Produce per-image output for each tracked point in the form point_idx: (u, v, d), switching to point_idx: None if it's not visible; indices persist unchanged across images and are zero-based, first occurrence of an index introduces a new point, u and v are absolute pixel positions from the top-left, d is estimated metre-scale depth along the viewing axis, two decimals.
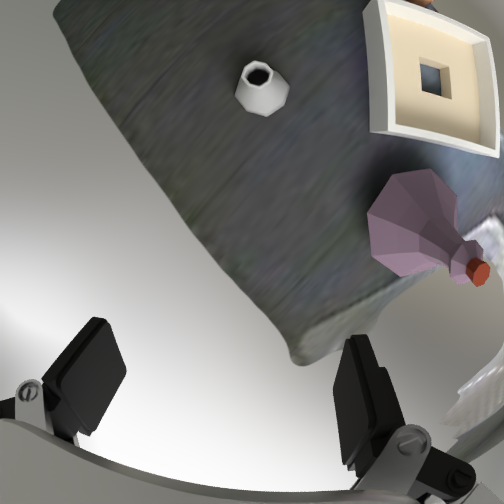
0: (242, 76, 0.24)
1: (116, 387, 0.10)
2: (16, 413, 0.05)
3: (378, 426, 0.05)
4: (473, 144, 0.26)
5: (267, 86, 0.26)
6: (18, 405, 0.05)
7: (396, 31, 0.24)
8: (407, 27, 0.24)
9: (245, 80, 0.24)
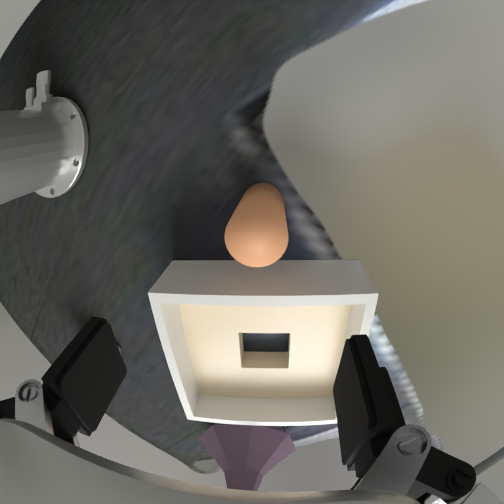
0: None
1: (116, 387, 0.10)
2: (16, 413, 0.05)
3: (378, 426, 0.05)
4: (295, 422, 0.29)
5: None
6: (18, 405, 0.05)
7: (204, 307, 0.28)
8: None
9: None
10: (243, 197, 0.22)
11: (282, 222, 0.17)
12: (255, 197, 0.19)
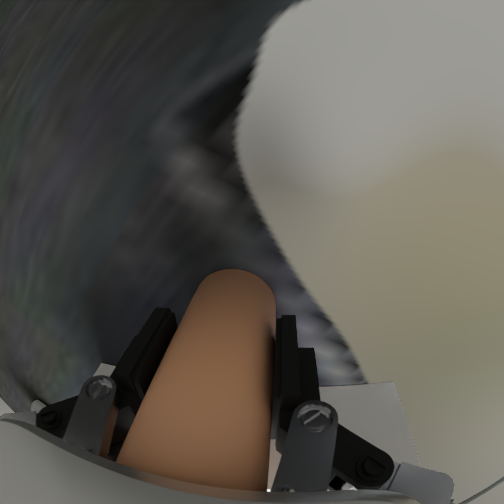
0: None
1: None
2: (75, 407, 0.06)
3: (281, 396, 0.07)
4: None
5: None
6: (81, 398, 0.06)
7: None
8: None
9: None
10: (176, 337, 0.09)
11: None
12: (186, 389, 0.06)
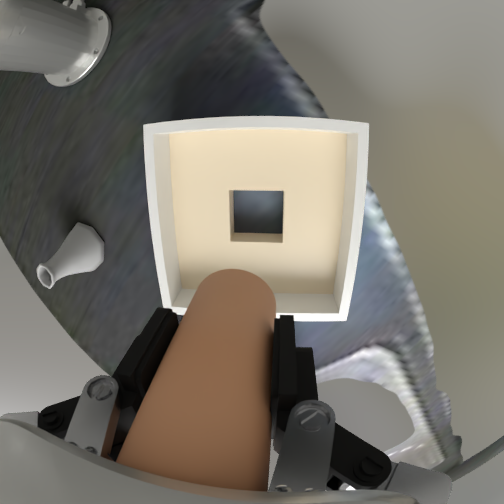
0: (38, 277, 0.26)
1: None
2: (77, 407, 0.06)
3: (279, 396, 0.07)
4: (291, 314, 0.28)
5: (61, 275, 0.29)
6: (83, 397, 0.06)
7: (196, 160, 0.27)
8: (215, 145, 0.26)
9: (40, 280, 0.27)
10: (176, 337, 0.09)
11: None
12: (187, 389, 0.06)
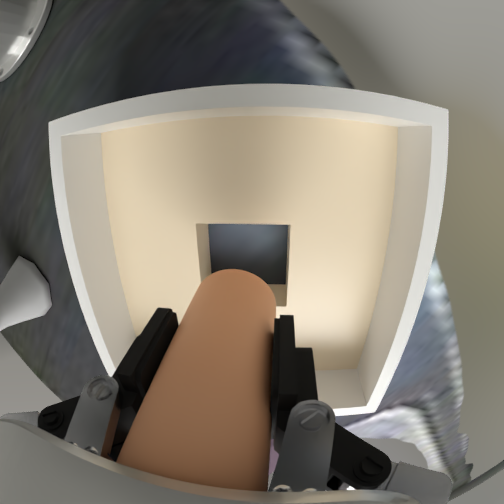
0: None
1: None
2: (77, 407, 0.06)
3: (279, 396, 0.07)
4: None
5: None
6: (83, 397, 0.06)
7: (141, 173, 0.15)
8: (170, 147, 0.15)
9: None
10: (177, 337, 0.09)
11: None
12: (187, 390, 0.06)
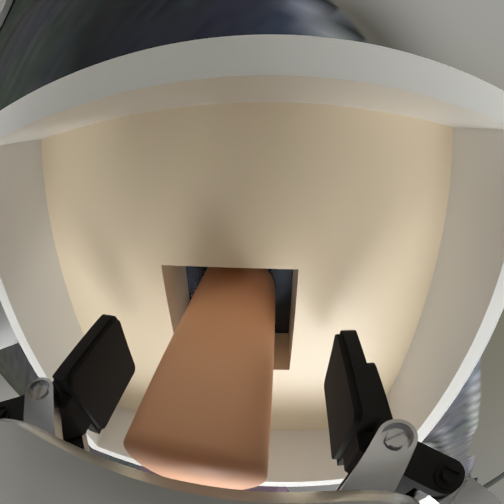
0: None
1: (125, 384, 0.10)
2: (25, 411, 0.05)
3: (364, 419, 0.06)
4: (299, 482, 0.12)
5: None
6: (27, 402, 0.05)
7: (87, 193, 0.10)
8: (121, 155, 0.10)
9: None
10: (187, 312, 0.10)
11: (253, 463, 0.05)
12: (198, 351, 0.08)
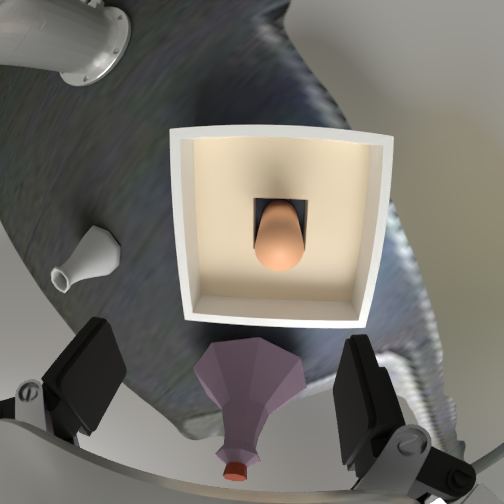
0: (52, 280, 0.27)
1: (116, 387, 0.10)
2: (16, 413, 0.05)
3: (378, 426, 0.05)
4: (313, 322, 0.28)
5: (76, 279, 0.29)
6: (18, 405, 0.05)
7: (221, 166, 0.27)
8: (240, 152, 0.27)
9: (54, 284, 0.27)
10: (266, 213, 0.27)
11: (300, 237, 0.22)
12: (278, 215, 0.24)
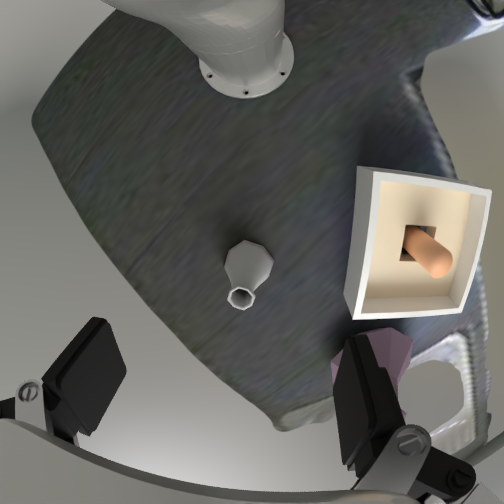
0: (228, 299, 0.33)
1: (116, 387, 0.10)
2: (16, 413, 0.05)
3: (378, 426, 0.05)
4: (435, 311, 0.35)
5: (250, 295, 0.35)
6: (18, 405, 0.05)
7: (388, 200, 0.33)
8: (402, 190, 0.33)
9: (231, 302, 0.33)
10: (416, 237, 0.33)
11: (451, 256, 0.28)
12: (432, 240, 0.31)
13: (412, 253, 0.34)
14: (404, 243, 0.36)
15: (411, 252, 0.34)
